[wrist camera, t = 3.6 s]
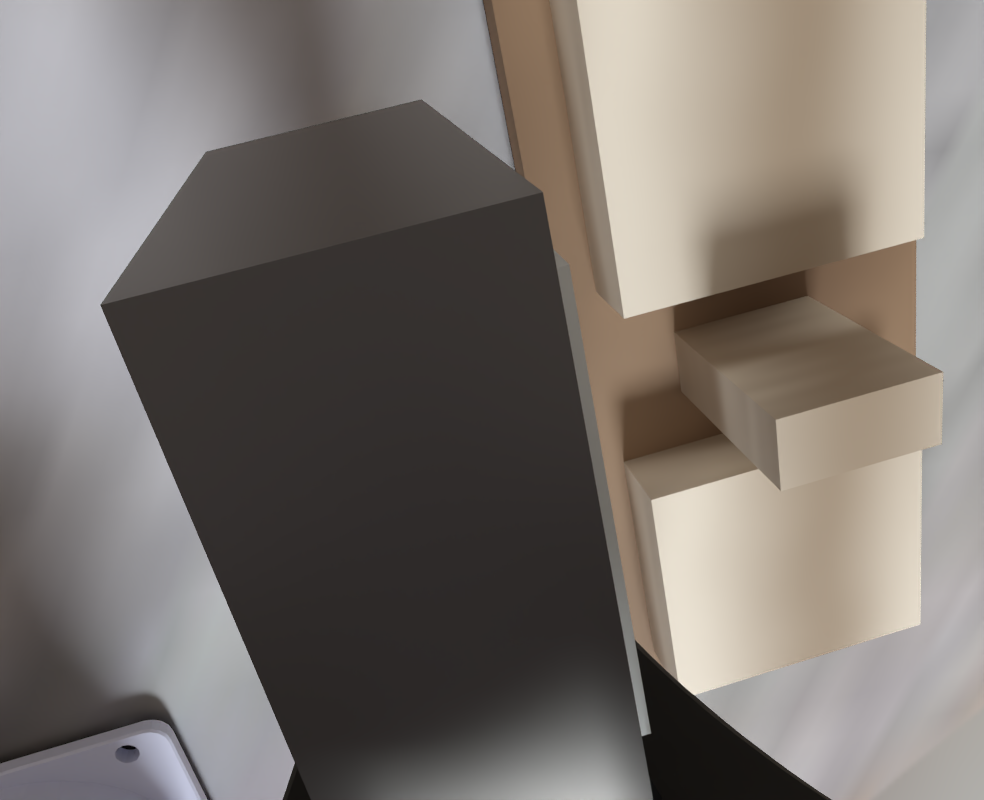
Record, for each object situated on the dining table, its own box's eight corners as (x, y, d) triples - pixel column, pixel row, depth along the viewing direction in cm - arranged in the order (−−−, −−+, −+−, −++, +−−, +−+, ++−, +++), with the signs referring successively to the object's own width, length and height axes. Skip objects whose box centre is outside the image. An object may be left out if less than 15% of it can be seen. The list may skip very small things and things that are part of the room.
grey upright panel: (205, 151, 10) (99, 305, 5) (441, 95, 10) (580, 181, 5) (478, 948, 16) (559, 1383, 11) (619, 901, 16) (762, 1306, 11)
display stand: (611, 671, 23) (691, 840, 18) (473, -52, 16) (547, -77, 11) (895, 583, 24) (1041, 724, 19) (891, -145, 16) (1127, -208, 12)
